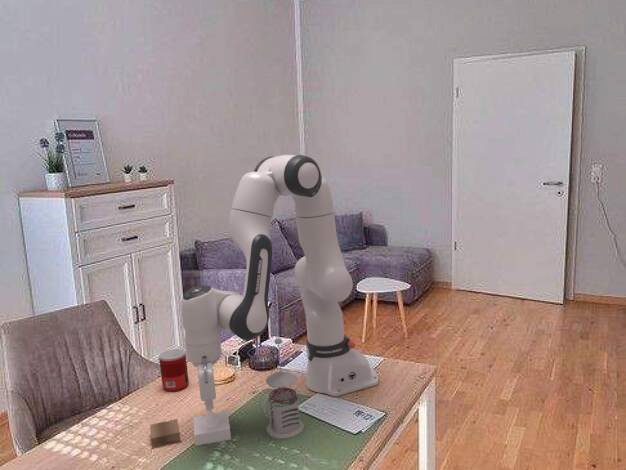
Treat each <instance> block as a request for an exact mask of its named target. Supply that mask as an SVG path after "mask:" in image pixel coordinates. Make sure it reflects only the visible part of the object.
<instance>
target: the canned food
mask: <svg viewBox="0 0 626 470" xmlns="http://www.w3.org/2000/svg"><path fill="white" fill-rule="evenodd" d="M158 358H159V359H158V360H159V368H160V375H161V382H162V389H163V390H164V391H166V392H168V393H169V392H170V393H172V392H173V393H174V392H180V391H183V390H184V389H186V388H187V387H188V386H189V381H190V380H189V373H188V371H189V370H188V365H187V364H188V363H187V357H186V350H184V349H180V348H173V349H167V350H165V351H162V352H161V353H159V355H158Z"/></svg>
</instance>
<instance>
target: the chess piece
mask: <svg viewBox="0 0 626 470" xmlns="http://www.w3.org/2000/svg"><path fill="white" fill-rule="evenodd" d="M203 405H204V406H205V407H206V404H205V402H204V403H203ZM213 414H214V413H213V411H212V410H206V414H205V415H206V417H205V418H203V419H202V420H201V426H202V427H204V428H212V427H215V426H217V425H218V424H219V423H220V420H219V417H217V416H214V415H213Z"/></svg>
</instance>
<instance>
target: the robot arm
mask: <svg viewBox="0 0 626 470" xmlns="http://www.w3.org/2000/svg"><path fill="white" fill-rule="evenodd" d="M280 196H284V197H285V196H286V197H287V196H291V198H292V200H293V201H294V210H295V218H296V227H297V236H298V241H299V242H298V243H299V245H300V247H301V249H302V252H303V253H304V255H303V257H300V258H299V259H298V260H297V262H296V264H295V266H294V277H295V279H296V281H297V284H298V288H299V293H300V298H301V300H302V305H303V309H304V313H305V323H306V333H307V338H306V342H305V343H306V350H305V351H306V357H307V372H306V378H305V382H304V383H305V384H304V386H305V387H307V388H308V389H309V390H310V391H313V392H315V393H321V394H327V395H328V396H332V397H338V396H342V395H346V394H349V393H353V392H357V391H359V390H363V389H367V388H371V387H374V386H377V385H378V384H379V380H380V379H379V376H378V374H377V371H376V370H375V369H374V368H373V367H371V366H370V363H369V361H368V359H367V357H366V356H365V355H364V354H362V353H361V352H360V351H358V350H357V349H355V347H356V343H355V342H354V341H353V340H352V339H350V337H348V336H347V335H345V334H344V314H343V311H342V308H341V307H340V305H339V303H341V302H343V301H344V300H346V299H348V297H349V296H350V295H351V293H352V291H353V285H354V284H353V281H354V280H353V278H352V276H351V275H350V273H349V271H348V268H347V266H346V263H345V260H344V257H343V253H342V251H341V248H340V245H339V239H338V235H337V228H336V227H337V226H336V220H335V210H334V203H333V202H334V201H333V197H332V192H331V189H330V187H329V183H328V181H327V179H326V178H325V177H323V176H322V173H321V169H320V166H319V165H318V163H317V162H316V160H315V159H313V158H311V157H310V156H307V155H303V154H298V155H297V154H281V155H277V156H268V157H266V158H263V159H262V160H261V161H259V162H258V163H257V165H256V166H255V169H254V170H253V171H249V172H247V173H245V174H243V176H242V177H241V179H240V181H239V183H238V185H237V187H236V190H235V193H234V197H233V200H232V203H231V208H230V212H229V216H228V222H227V223H228V225H227V227H228V228H227V229H228V230H227V231H228V234H229V237H230V239H231V240H232V242H233V243H234V244H235V245H236V246H237V247H238V248H239V249H240V250H241V251H242V253H243V255H244V259H245V261H246V271H245V278H244V287H243V294H240V293H238V292H234V291H230V290H219V289H216V288H213V287H212V286H210V285H208V284H207V285H206V284H205V285H204V284H203V285H197V286H194V287H191V288H190V289H188V290H187V291H185V293H184V294H183V296H182V298H181V322H182V327H183V329H184V333H185V334H184V348H185V354H186V361H188V362H189V363H191V364H192V366H193V367H196V368H197V377H198V386H199V387H198V388H199V396H200V400H201V402H204V403H205V404H206V406H205V410H206V411H207V410H214V400H215V399H216V397H217V393H216V392H217V391H216V382H215V374H214V366H213V365H215V364H216V363H217V362H218V359H219V358H220V357H221V356H222V354H223V353H222V344H221V332H223V331H225V330H226V331H228V332H230V333H233V334H234V335H235V336H236V337H238V338H239V339H240V340H244V341H251V340H255V339H257V338H258V337H260V336H261V335H262V334H263V333H264V332H265V331H266V328H267V327H268V325H269V321H270V309H269V308H270V307H269V292H270V283H271V271H272V262H273V244H272V241H271V227H272V221H273V216H274V209H275V203H276V202H277V200H278V199H279V197H280Z"/></svg>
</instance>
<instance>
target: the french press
mask: <svg viewBox="0 0 626 470" xmlns="http://www.w3.org/2000/svg"><path fill="white" fill-rule="evenodd" d="M274 344H276V345H277V346H278V358H279V359H278V360H279V361H281V354H280V352H281V351H280V345H281V344H283V340H282V338H280V337H278V338H275V340H274ZM281 365H282V364H281V362H279V369H280V371H277V372H274V373H272V374H271V375H269V376H267V378H266V379H265V382H266V385H268V387H270V388H274V389H273V390H272V391H271V390H269V388H267V389H265V390H264V391H263V393H262V394H261V397H260V401H259V407H260V408H259V409H260V411H261V413H262V414H263V415H265V416H266V417H268V418H269V423H268V425H267V427H266V433H267V434H268V435H269V436H271V437H274V438H276V439H286V438H287V439H288V438H292V437H295V436H298V435H299V434H300V433H301V432H303V430H304V427H305V426H304V423H303V422H302V421H301V420H300V409H299V398H298V395H297V391H296V389H294V388H292V387H291V386H292V385H294V384H295V383H296V382H297V380H298V377H297V375H296V374H294V373H292V372H290V371H284V370H283V371H282V366H281ZM266 392H268V393H267V395H266V397H265V399H264V403H263V409H264V410H263V409H262V399H263V397H264V394H265V393H266ZM267 398H268V400H267ZM267 401H268V412H269V414H268V413H267V411H266V402H267ZM273 404H274V405H273ZM277 404H279V405H277ZM284 405H286V406H284Z"/></svg>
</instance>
